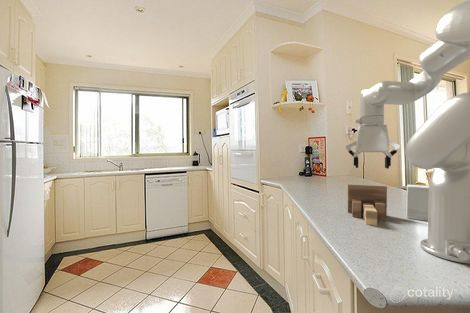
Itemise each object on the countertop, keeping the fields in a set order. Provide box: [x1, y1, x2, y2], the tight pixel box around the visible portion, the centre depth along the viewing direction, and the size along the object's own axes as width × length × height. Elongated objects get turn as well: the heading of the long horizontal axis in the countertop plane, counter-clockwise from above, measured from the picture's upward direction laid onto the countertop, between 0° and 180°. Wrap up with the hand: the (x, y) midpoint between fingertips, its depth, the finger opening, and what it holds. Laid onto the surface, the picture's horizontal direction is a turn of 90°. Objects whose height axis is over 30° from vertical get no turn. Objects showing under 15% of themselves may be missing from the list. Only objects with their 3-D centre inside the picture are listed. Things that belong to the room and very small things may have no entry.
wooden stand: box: [347, 183, 388, 221], centre depth 91 cm, size 8×14×12 cm, turn 65°
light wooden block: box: [361, 203, 378, 227], centre depth 86 cm, size 12×4×5 cm, turn 155°
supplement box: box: [405, 184, 429, 222], centre depth 88 cm, size 7×7×13 cm
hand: (371, 167), depth 83 cm, fingers open, 9 cm apart
